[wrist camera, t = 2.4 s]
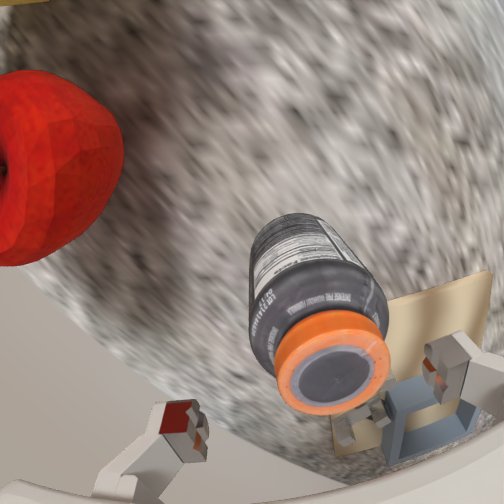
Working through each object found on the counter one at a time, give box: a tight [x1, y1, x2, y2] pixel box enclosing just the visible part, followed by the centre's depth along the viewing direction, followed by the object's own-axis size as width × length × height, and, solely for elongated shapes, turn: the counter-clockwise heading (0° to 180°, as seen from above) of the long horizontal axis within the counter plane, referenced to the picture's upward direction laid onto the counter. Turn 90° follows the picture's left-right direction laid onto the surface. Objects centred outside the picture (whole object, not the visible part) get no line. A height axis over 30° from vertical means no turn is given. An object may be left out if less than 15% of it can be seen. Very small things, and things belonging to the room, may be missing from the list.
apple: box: [0, 70, 124, 266], centre depth 13 cm, size 9×9×11 cm
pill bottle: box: [249, 213, 391, 416], centre depth 15 cm, size 6×6×11 cm
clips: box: [331, 367, 396, 447], centre depth 22 cm, size 5×8×2 cm, turn 14°
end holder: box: [381, 374, 482, 467], centre depth 23 cm, size 10×10×3 cm
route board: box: [330, 270, 493, 457], centre depth 24 cm, size 15×18×1 cm
